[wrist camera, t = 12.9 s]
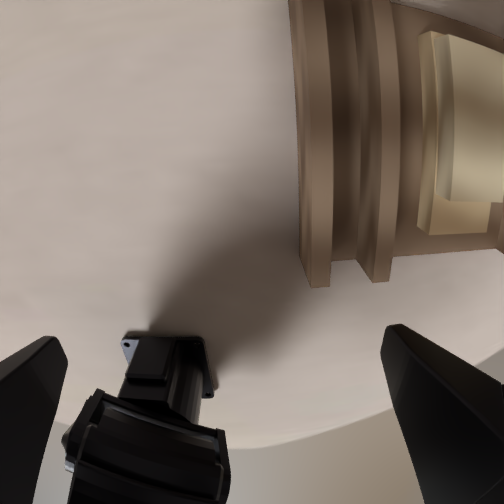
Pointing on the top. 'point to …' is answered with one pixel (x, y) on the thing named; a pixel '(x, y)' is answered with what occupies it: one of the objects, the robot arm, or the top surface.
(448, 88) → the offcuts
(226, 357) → the top surface
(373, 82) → the rack
